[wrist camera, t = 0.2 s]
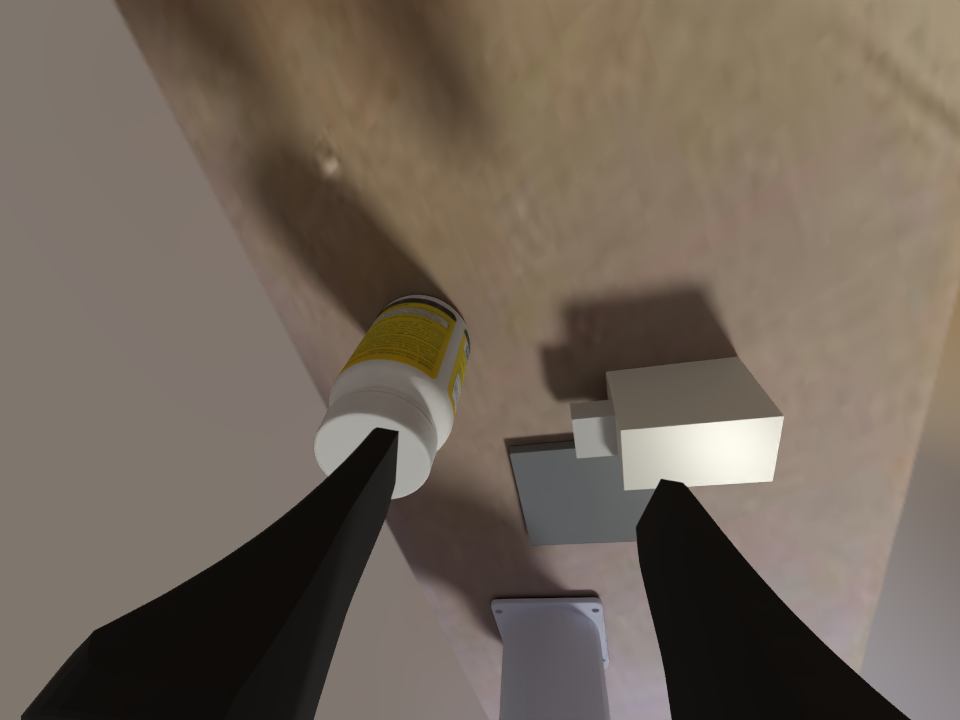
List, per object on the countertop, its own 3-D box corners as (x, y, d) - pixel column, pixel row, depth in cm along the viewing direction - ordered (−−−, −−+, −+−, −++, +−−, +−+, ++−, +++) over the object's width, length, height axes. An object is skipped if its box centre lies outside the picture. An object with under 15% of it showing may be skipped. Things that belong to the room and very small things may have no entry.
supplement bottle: (357, 318, 21) (270, 432, 14) (437, 274, 20) (383, 378, 13) (412, 390, 23) (360, 522, 16) (489, 356, 22) (468, 485, 15)
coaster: (659, 531, 27) (662, 540, 27) (530, 537, 29) (531, 545, 28) (659, 433, 23) (662, 441, 23) (510, 446, 25) (509, 453, 24)
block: (731, 414, 22) (772, 481, 18) (573, 428, 24) (581, 493, 20) (737, 355, 20) (784, 416, 17) (566, 374, 22) (573, 434, 18)
